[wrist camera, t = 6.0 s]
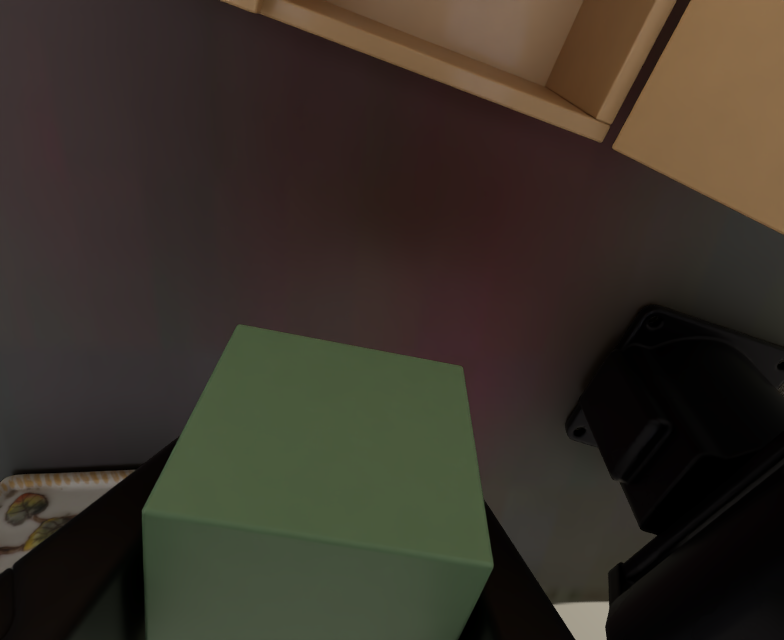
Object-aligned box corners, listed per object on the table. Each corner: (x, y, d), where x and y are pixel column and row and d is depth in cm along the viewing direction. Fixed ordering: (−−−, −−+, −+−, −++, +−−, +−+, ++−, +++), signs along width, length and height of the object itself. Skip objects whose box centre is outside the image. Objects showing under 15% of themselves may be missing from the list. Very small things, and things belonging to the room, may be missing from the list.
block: (463, 364, 10) (496, 567, 6) (413, 515, 12) (415, 732, 8) (237, 321, 9) (139, 511, 6) (224, 484, 11) (145, 697, 8)
